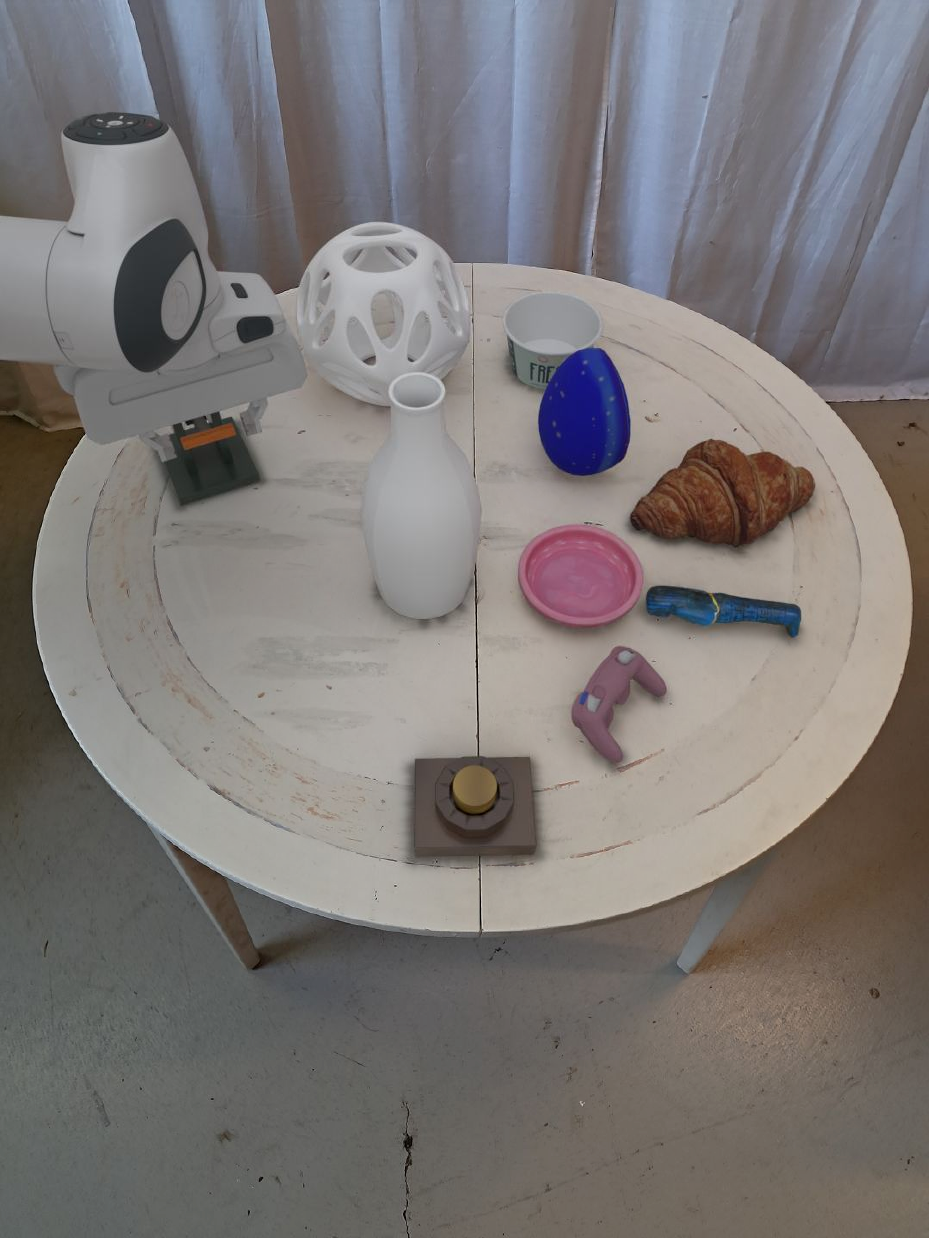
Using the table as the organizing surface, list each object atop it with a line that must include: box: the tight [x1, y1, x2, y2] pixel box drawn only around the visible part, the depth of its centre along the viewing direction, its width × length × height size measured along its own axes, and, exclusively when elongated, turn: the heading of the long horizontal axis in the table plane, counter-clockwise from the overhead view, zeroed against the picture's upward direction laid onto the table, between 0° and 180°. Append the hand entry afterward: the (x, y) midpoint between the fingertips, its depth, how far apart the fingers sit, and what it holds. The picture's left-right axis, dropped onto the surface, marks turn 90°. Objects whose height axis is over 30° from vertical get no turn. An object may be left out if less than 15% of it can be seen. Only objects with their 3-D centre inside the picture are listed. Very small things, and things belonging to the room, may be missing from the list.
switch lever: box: [180, 415, 236, 450], centre depth 89 cm, size 13×5×2 cm, turn 26°
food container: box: [501, 290, 604, 391], centre depth 107 cm, size 12×12×6 cm
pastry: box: [629, 438, 817, 548], centre depth 93 cm, size 17×15×8 cm
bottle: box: [359, 372, 483, 620], centre depth 79 cm, size 11×11×25 cm
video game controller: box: [570, 645, 668, 763], centre depth 80 cm, size 10×5×7 cm, turn 145°
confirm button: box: [453, 765, 497, 814], centre depth 72 cm, size 4×4×2 cm
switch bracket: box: [163, 411, 261, 506], centre depth 95 cm, size 10×9×10 cm
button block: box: [413, 755, 537, 858], centre depth 74 cm, size 10×8×4 cm
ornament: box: [537, 347, 632, 477], centre depth 94 cm, size 11×9×15 cm
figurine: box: [645, 584, 802, 638], centre depth 87 cm, size 5×4×15 cm
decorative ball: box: [295, 221, 472, 408], centre depth 101 cm, size 20×20×17 cm
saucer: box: [517, 523, 644, 629], centre depth 89 cm, size 12×12×3 cm
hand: (210, 443), depth 84 cm, fingers open, 7 cm apart
